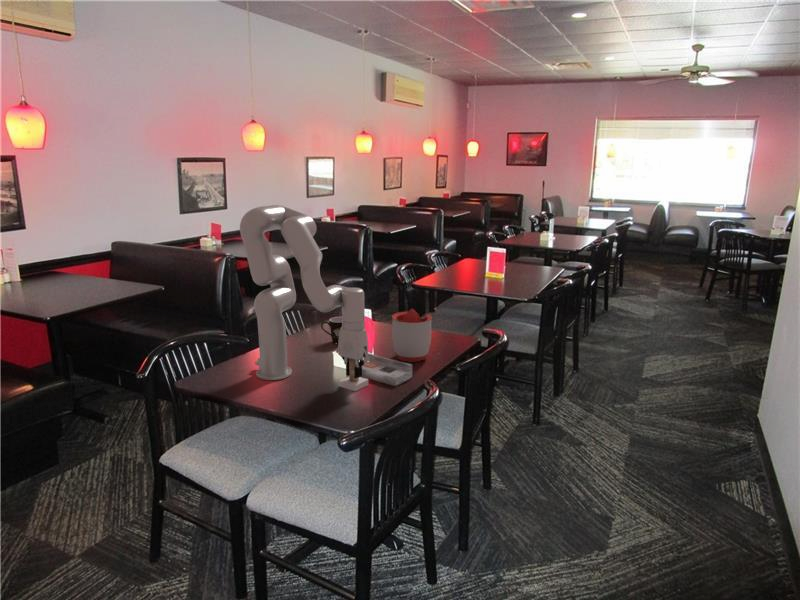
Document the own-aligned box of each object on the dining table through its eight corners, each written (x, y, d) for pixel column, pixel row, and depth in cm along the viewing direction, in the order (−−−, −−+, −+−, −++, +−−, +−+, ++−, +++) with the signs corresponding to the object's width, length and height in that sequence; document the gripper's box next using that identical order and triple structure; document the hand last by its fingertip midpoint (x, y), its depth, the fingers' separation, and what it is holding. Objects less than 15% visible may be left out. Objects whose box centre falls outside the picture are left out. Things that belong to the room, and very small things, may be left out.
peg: (347, 380, 192) (347, 358, 190) (353, 377, 195) (353, 356, 193) (354, 382, 190) (354, 360, 188) (360, 379, 193) (360, 357, 191)
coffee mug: (354, 341, 240) (353, 318, 238) (341, 346, 233) (341, 323, 231) (332, 336, 246) (332, 314, 244) (320, 341, 239) (319, 319, 237)
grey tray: (351, 373, 204) (351, 360, 203) (368, 365, 212) (368, 353, 211) (395, 386, 193) (396, 372, 192) (412, 377, 201) (412, 364, 199)
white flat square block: (339, 386, 192) (339, 381, 192) (352, 380, 198) (352, 374, 197) (355, 391, 188) (355, 385, 188) (368, 384, 194) (368, 379, 193)
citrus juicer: (440, 355, 224) (442, 306, 220) (417, 367, 210) (418, 316, 206) (408, 347, 233) (408, 301, 228) (383, 359, 219) (383, 310, 214)
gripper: (327, 323, 189) (328, 374, 194) (365, 331, 180) (365, 385, 185) (342, 318, 195) (343, 367, 200) (379, 326, 186) (379, 378, 191)
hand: (354, 375), depth 192 cm, fingers closed on peg, 3 cm apart
